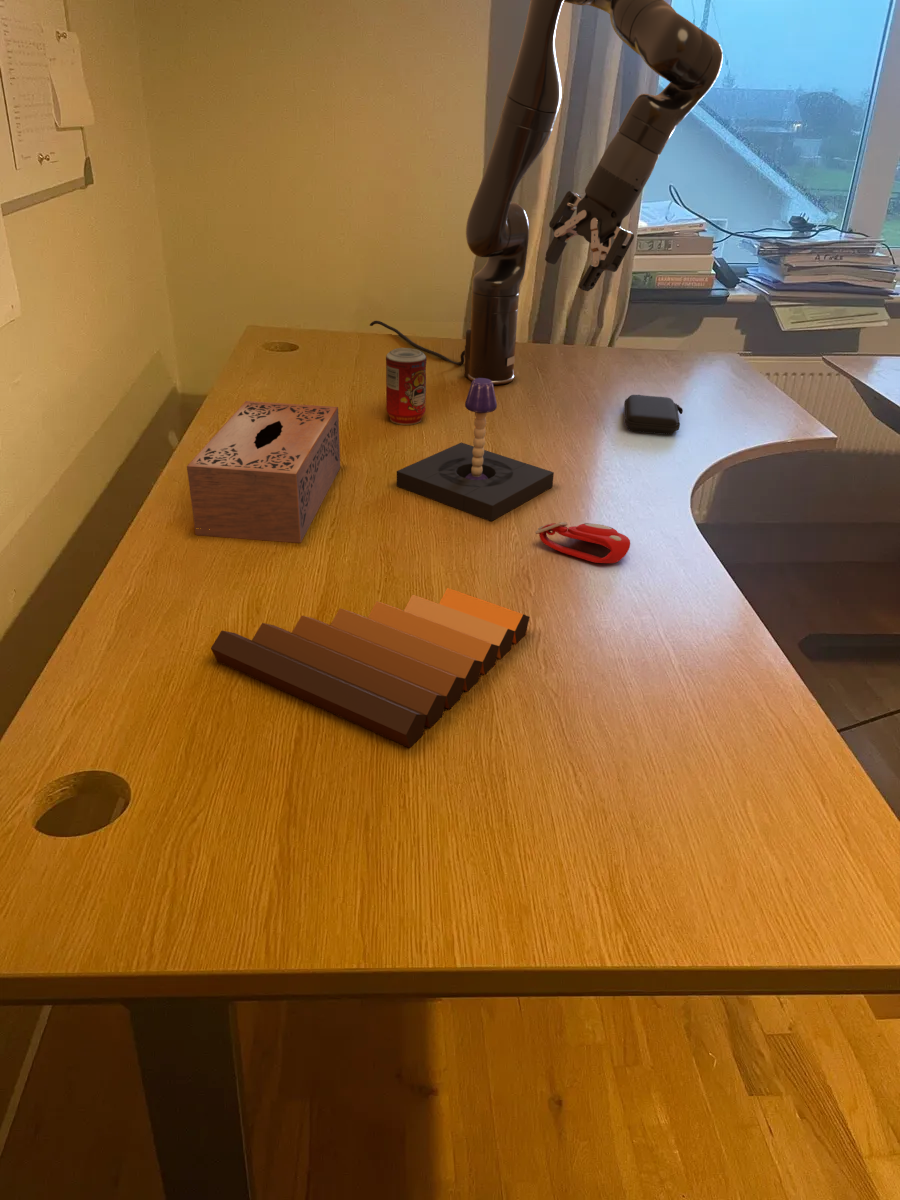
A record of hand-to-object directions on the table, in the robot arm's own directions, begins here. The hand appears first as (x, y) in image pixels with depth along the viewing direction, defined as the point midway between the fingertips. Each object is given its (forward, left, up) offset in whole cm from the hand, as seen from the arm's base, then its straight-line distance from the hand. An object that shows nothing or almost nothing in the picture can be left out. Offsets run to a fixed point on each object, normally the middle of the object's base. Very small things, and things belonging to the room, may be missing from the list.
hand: (566, 275), depth 139 cm
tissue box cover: (-18, -47, -28) cm, 58 cm away
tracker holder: (+25, -30, -28) cm, 48 cm away
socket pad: (+2, -24, -27) cm, 36 cm away
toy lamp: (+2, -24, -28) cm, 36 cm away
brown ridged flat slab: (+20, -66, -28) cm, 74 cm away
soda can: (-25, -9, -28) cm, 39 cm away
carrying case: (+9, +21, -28) cm, 36 cm away
